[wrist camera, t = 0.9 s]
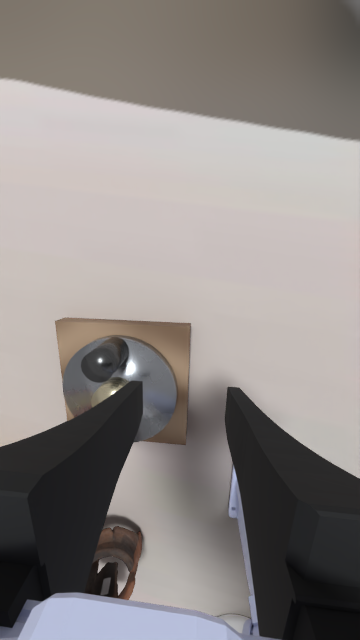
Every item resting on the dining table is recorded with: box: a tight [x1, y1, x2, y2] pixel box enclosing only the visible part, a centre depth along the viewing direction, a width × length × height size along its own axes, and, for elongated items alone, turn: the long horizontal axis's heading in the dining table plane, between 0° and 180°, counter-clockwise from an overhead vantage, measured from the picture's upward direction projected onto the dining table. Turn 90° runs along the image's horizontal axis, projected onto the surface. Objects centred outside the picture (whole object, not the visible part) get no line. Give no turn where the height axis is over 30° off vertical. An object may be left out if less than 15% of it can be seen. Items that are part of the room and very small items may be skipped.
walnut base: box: [55, 318, 191, 445], centre depth 21 cm, size 13×13×2 cm
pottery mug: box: [84, 526, 142, 600], centre depth 25 cm, size 12×10×8 cm
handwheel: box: [63, 335, 177, 442], centre depth 18 cm, size 11×11×5 cm
